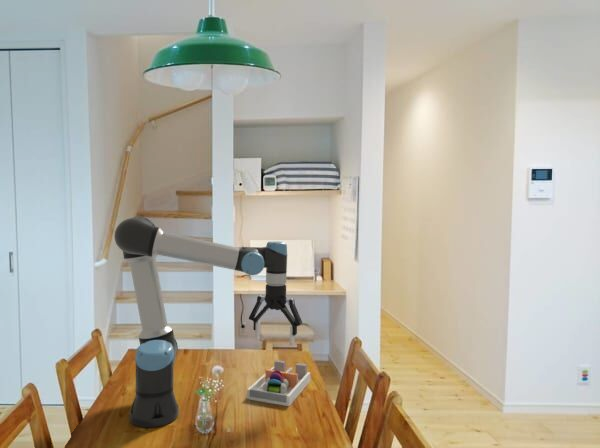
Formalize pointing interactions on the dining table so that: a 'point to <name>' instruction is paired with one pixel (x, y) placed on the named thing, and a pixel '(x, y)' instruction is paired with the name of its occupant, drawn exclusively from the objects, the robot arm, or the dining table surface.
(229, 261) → the robot arm
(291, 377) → the pusher
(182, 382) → the dining table surface
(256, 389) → the grey tray
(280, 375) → the multicolored domed toy
